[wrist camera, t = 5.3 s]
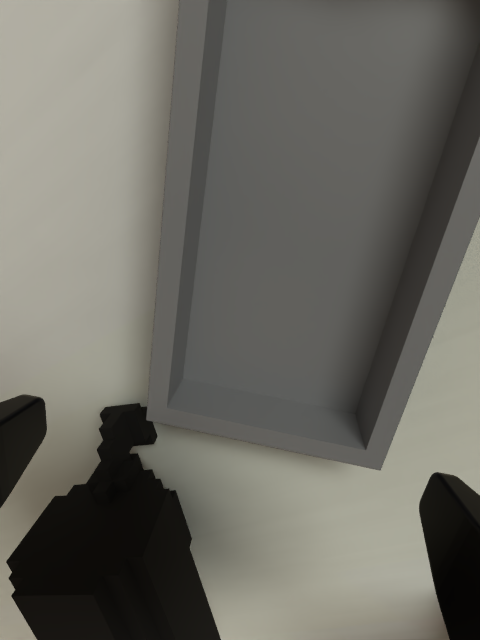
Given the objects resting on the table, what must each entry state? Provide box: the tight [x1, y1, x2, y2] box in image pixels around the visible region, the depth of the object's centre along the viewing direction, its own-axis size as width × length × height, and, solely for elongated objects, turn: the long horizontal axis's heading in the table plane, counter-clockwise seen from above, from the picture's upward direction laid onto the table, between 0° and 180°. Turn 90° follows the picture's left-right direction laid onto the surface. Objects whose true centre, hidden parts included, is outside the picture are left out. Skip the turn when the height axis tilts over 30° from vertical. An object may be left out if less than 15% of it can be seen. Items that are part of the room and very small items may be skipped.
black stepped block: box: [6, 403, 221, 640], centre depth 22 cm, size 7×18×10 cm, turn 12°
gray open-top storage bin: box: [146, 0, 480, 470], centre depth 16 cm, size 12×23×4 cm, turn 171°
